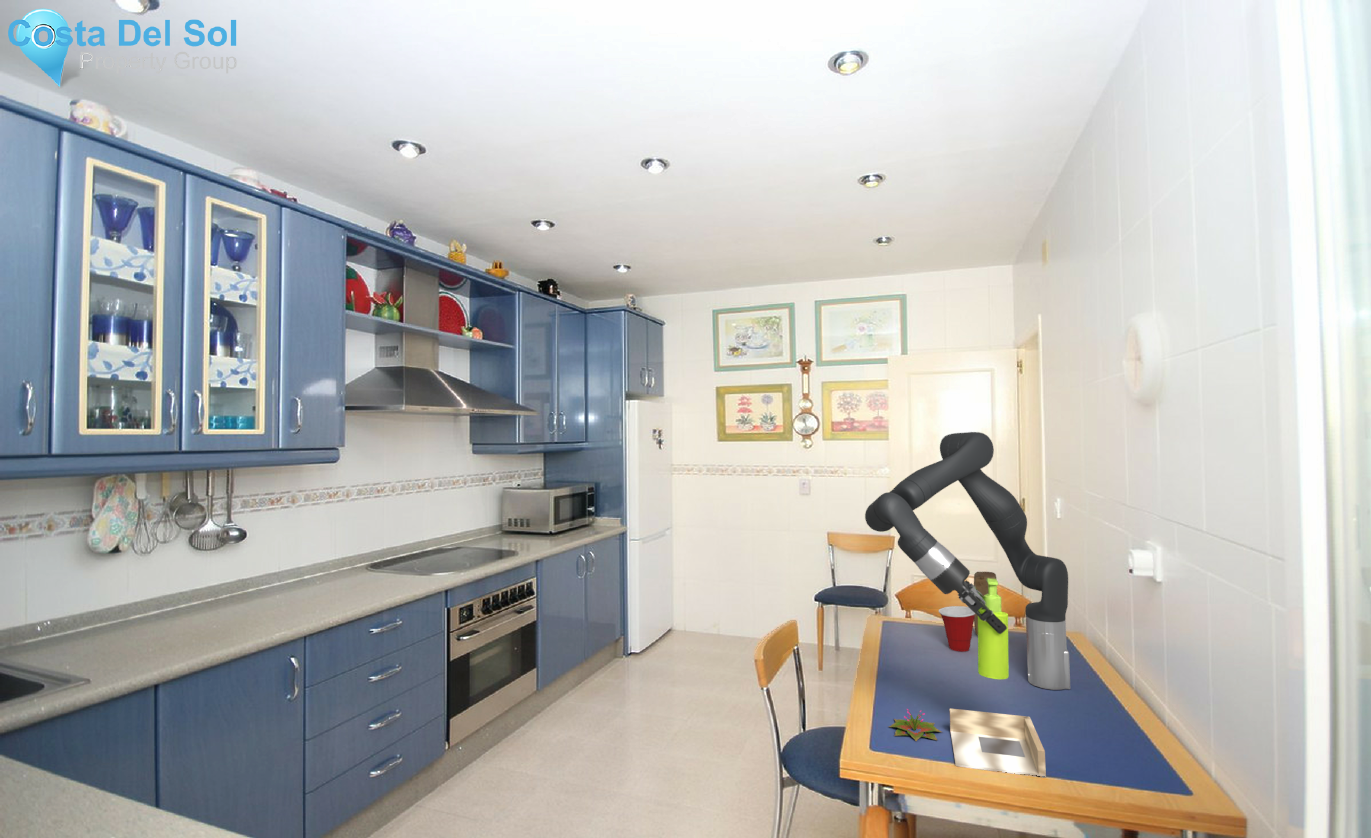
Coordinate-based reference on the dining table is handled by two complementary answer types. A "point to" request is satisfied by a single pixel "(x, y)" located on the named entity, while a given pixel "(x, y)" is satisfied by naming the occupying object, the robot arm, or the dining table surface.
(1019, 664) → the dining table surface
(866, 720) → the dining table surface
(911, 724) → the lily flower
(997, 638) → the soap dispenser
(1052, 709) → the dining table surface
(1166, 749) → the dining table surface
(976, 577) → the block
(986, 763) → the corner arena
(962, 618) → the plastic cup
